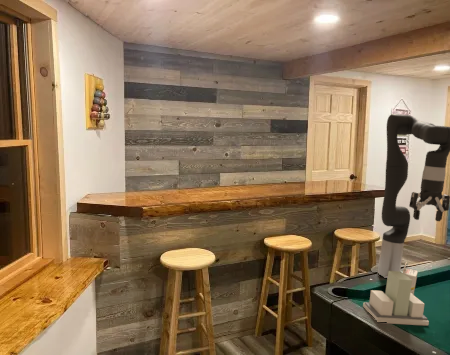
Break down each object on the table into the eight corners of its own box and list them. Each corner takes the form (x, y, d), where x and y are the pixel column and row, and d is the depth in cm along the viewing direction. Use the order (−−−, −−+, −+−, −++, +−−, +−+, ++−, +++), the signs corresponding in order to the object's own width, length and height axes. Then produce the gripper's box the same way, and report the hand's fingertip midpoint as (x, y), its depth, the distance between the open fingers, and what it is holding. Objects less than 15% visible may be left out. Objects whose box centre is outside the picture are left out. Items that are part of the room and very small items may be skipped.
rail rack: (362, 306, 138) (365, 288, 138) (409, 309, 139) (412, 291, 139) (377, 322, 127) (380, 303, 126) (428, 325, 127) (431, 306, 127)
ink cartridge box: (412, 305, 143) (417, 269, 141) (398, 301, 145) (403, 265, 143) (413, 298, 150) (419, 263, 148) (400, 294, 152) (405, 260, 151)
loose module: (383, 304, 137) (388, 270, 135) (395, 305, 137) (400, 271, 135) (394, 315, 129) (399, 279, 127) (407, 315, 129) (412, 280, 127)
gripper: (445, 178, 145) (438, 219, 147) (409, 176, 144) (404, 216, 146) (457, 181, 137) (451, 223, 139) (420, 178, 137) (414, 221, 139)
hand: (426, 220), depth 143 cm, fingers open, 8 cm apart
